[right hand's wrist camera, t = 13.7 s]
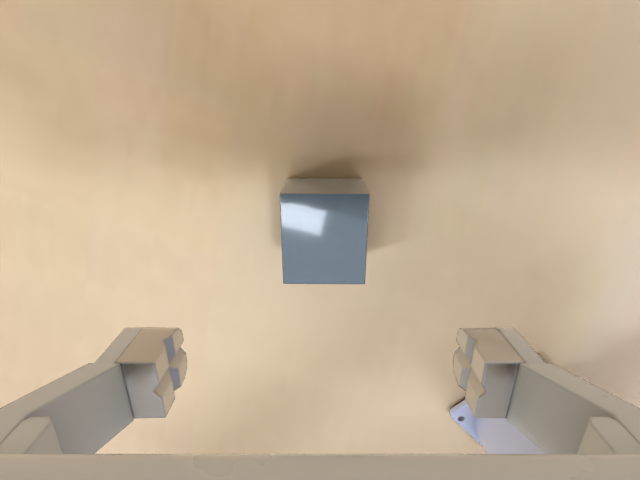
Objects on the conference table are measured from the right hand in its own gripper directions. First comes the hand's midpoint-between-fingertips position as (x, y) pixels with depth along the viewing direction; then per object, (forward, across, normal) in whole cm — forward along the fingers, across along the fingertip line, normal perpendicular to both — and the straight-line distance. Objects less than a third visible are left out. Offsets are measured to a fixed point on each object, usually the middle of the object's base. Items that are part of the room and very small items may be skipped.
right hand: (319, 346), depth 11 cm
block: (+13, 0, 0) cm, 13 cm away
